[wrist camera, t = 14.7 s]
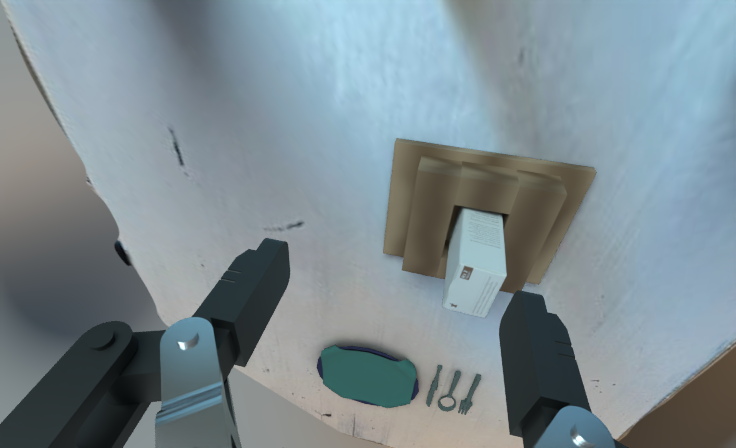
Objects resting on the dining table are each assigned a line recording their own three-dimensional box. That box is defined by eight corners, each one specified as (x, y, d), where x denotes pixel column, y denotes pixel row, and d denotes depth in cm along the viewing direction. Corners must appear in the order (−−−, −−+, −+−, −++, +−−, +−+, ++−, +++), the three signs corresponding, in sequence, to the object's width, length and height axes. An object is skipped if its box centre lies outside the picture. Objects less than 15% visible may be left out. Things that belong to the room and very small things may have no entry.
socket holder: (384, 248, 48) (377, 271, 44) (396, 138, 38) (388, 156, 34) (537, 278, 45) (543, 305, 41) (594, 167, 35) (607, 190, 31)
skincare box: (484, 241, 42) (488, 322, 33) (447, 232, 43) (440, 310, 33) (503, 199, 38) (512, 278, 29) (462, 190, 39) (458, 264, 29)
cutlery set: (316, 328, 63) (312, 339, 62) (487, 365, 59) (487, 378, 57) (322, 384, 76) (318, 394, 74) (463, 418, 71) (463, 429, 69)
